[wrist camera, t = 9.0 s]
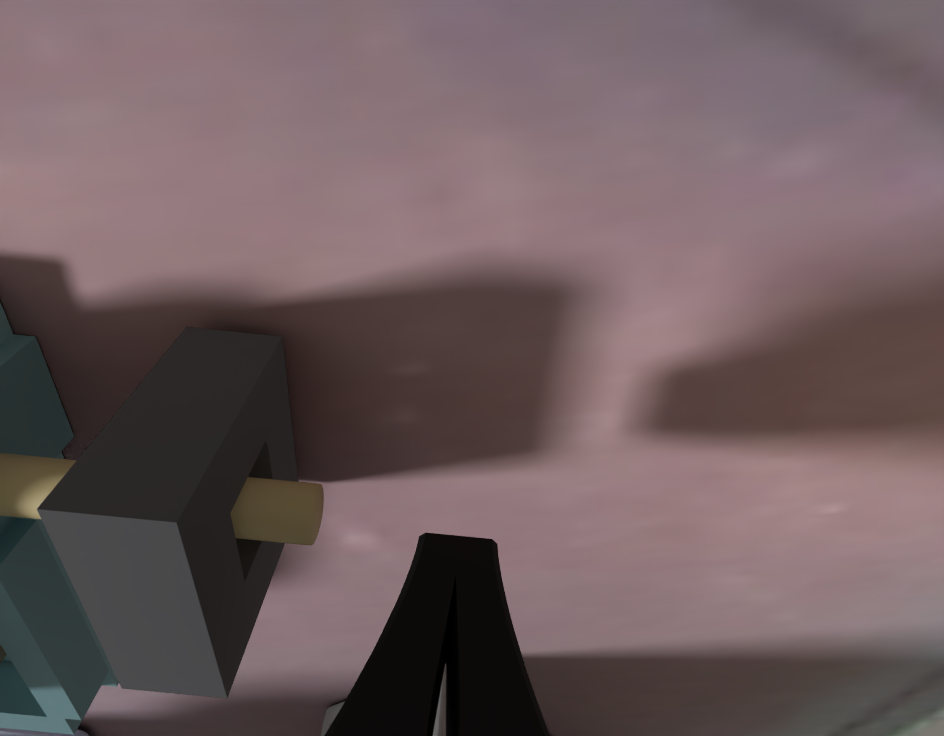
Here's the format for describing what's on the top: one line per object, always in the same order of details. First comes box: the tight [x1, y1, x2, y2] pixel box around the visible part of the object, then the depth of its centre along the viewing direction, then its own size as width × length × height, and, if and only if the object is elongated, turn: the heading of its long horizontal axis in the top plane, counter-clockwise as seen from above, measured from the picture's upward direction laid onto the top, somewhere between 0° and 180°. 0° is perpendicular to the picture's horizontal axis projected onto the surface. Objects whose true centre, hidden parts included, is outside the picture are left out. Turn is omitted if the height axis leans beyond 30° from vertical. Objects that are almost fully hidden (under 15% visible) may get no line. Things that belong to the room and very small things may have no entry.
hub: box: [37, 327, 298, 698], centre depth 12 cm, size 5×2×5 cm, turn 175°
